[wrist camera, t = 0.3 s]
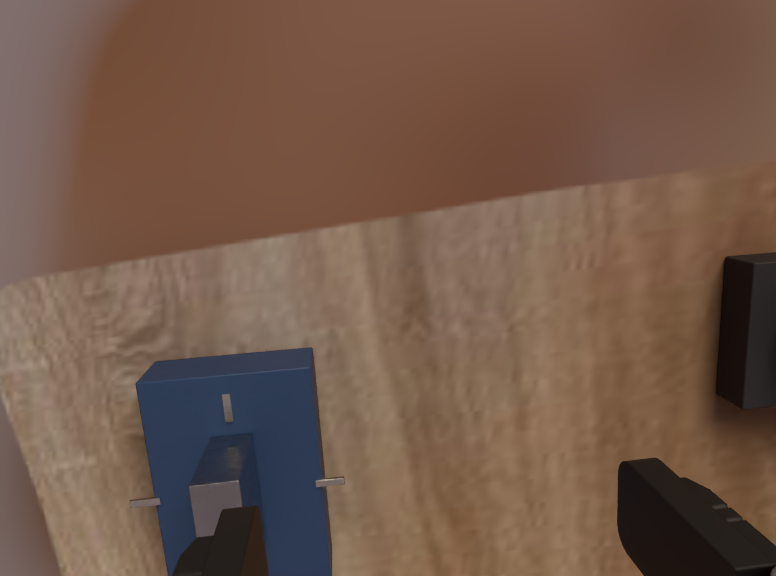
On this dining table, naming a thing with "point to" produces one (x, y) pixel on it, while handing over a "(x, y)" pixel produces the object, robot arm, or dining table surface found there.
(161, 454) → the toggle switch base
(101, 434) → the dining table surface
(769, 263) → the button housing
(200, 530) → the toggle switch lever
